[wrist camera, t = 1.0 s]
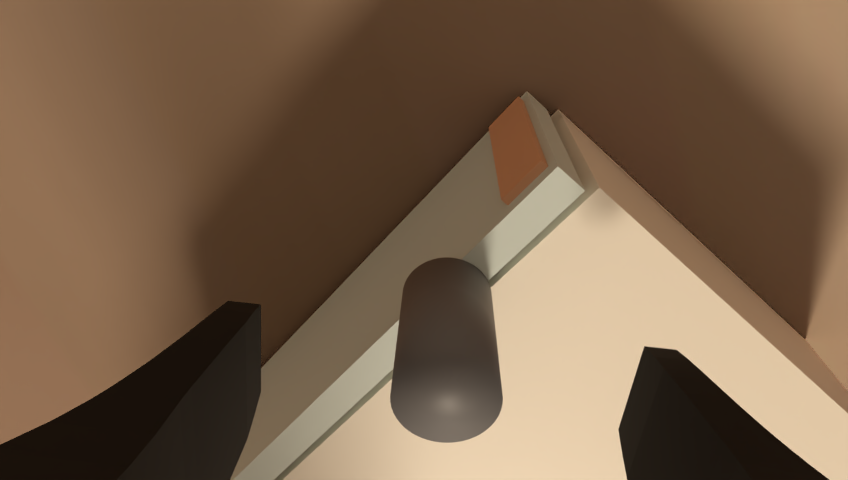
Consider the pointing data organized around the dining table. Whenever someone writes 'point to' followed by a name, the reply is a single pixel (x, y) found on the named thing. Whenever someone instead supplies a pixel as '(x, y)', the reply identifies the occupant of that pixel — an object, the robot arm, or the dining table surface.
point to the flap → (420, 303)
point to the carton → (602, 351)
